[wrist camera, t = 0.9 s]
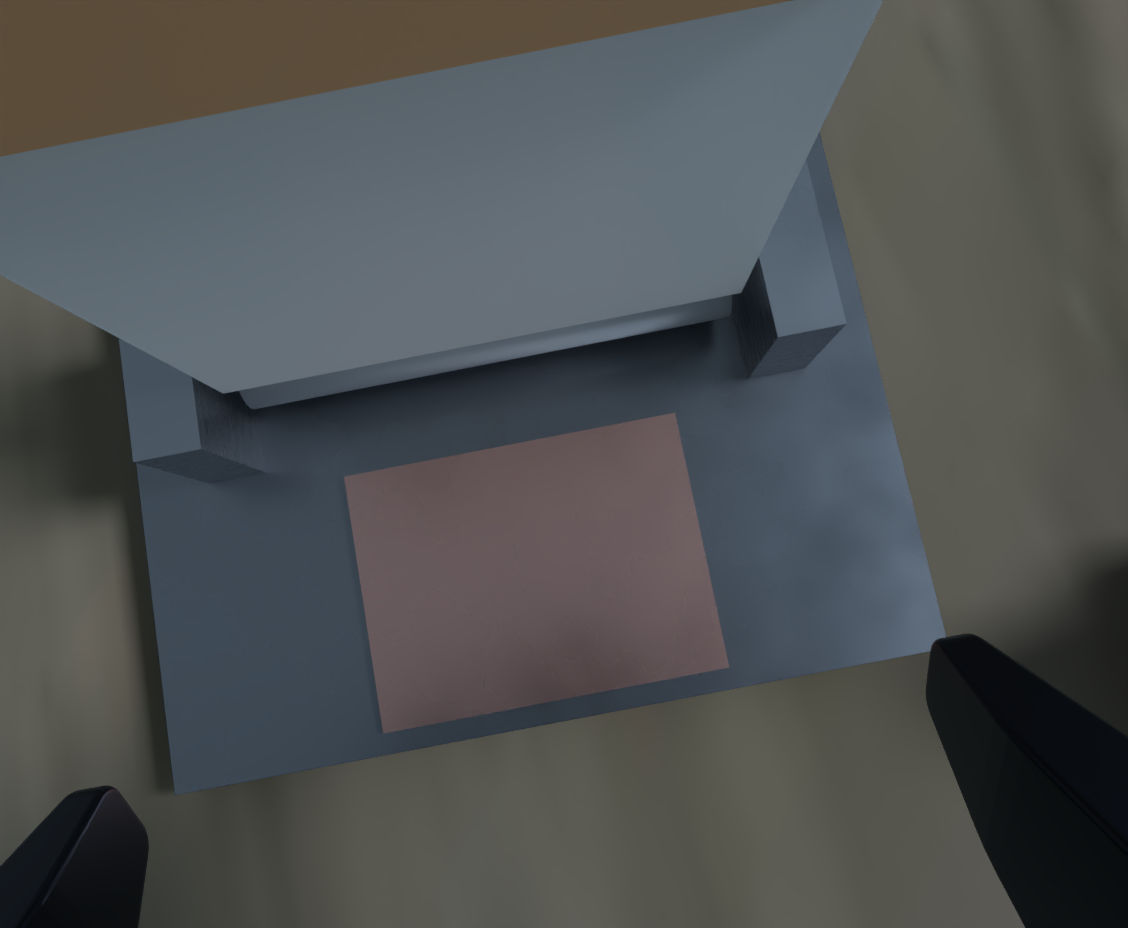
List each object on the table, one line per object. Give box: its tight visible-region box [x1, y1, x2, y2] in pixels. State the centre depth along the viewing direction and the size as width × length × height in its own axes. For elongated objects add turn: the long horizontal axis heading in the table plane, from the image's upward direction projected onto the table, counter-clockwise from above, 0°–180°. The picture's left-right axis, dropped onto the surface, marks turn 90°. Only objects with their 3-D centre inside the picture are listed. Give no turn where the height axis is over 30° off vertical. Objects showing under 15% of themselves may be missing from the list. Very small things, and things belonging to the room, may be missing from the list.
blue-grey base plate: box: [119, 132, 946, 795], centre depth 20 cm, size 18×18×4 cm
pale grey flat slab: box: [0, 0, 883, 409], centre depth 14 cm, size 2×11×14 cm, turn 101°
